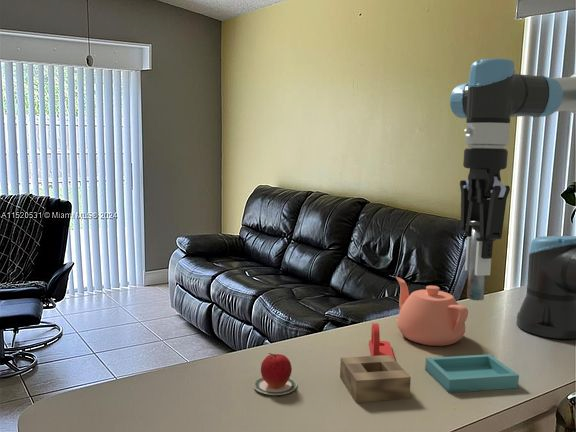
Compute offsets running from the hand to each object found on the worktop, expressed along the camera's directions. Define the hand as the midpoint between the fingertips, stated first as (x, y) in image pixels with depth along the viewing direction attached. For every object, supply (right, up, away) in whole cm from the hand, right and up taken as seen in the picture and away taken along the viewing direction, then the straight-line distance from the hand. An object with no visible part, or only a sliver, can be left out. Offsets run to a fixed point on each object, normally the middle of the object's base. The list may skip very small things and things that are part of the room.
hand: (477, 272), depth 102 cm
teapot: (-3, -18, +25) cm, 31 cm away
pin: (0, -5, +1) cm, 5 cm away
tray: (0, -21, +3) cm, 21 cm away
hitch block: (-20, -21, -2) cm, 29 cm away
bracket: (-16, -19, +14) cm, 29 cm away
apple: (-38, -21, -2) cm, 44 cm away
